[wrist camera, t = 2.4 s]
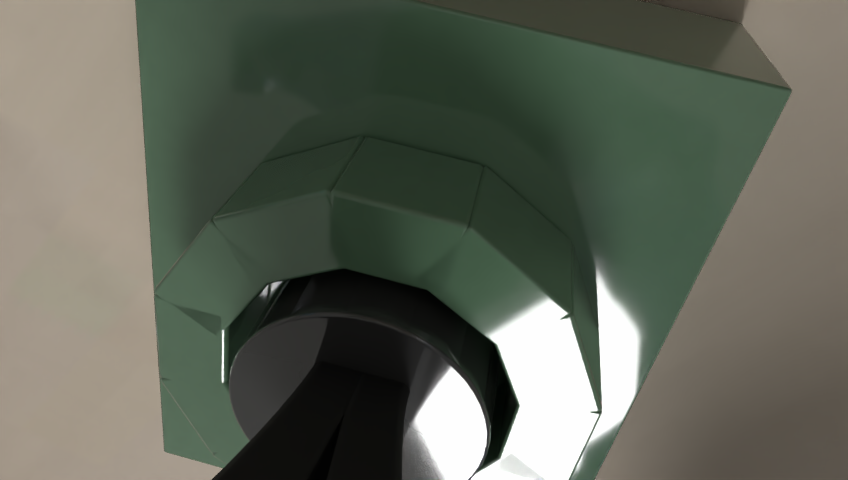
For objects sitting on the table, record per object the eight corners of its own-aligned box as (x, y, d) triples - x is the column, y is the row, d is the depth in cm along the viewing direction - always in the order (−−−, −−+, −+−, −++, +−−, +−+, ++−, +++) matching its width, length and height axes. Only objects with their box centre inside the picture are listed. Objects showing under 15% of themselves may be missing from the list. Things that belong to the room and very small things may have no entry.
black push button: (475, 437, 13) (459, 535, 11) (271, 382, 13) (225, 469, 11) (529, 269, 10) (521, 359, 9) (283, 207, 11) (228, 282, 9)
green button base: (556, 446, 17) (550, 646, 13) (224, 357, 18) (118, 522, 14) (743, 23, 11) (840, 148, 7) (229, -95, 12) (42, -42, 8)
